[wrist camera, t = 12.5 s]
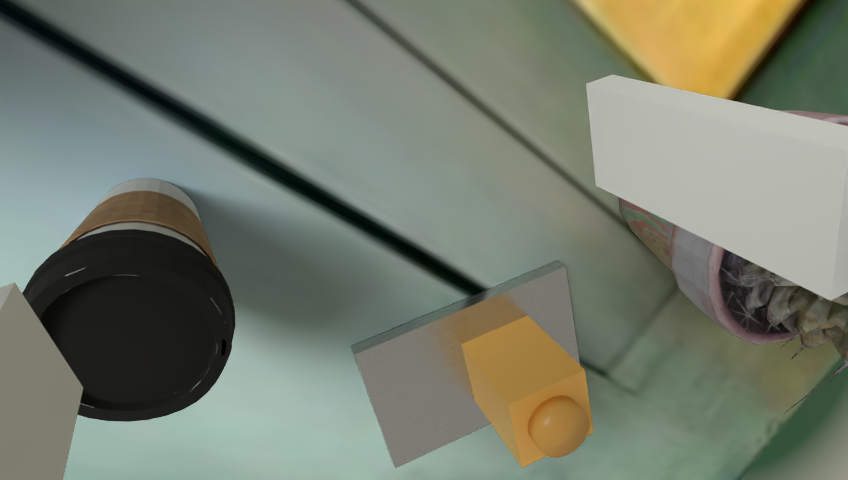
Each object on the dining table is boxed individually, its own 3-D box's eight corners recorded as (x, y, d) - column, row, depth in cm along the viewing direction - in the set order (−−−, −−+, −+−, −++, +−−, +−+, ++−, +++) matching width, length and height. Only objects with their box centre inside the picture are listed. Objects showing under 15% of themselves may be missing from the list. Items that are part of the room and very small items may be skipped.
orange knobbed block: (475, 401, 50) (532, 482, 41) (461, 344, 47) (519, 419, 39) (538, 372, 51) (606, 445, 43) (527, 315, 48) (597, 382, 40)
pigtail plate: (391, 458, 50) (415, 514, 45) (350, 346, 45) (372, 394, 40) (574, 373, 54) (617, 415, 49) (557, 260, 49) (603, 293, 43)
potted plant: (775, 217, 56) (1147, 359, 34) (600, 315, 53) (888, 540, 31) (762, 26, 47) (1245, 54, 26) (553, 129, 44) (904, 260, 23)
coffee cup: (218, 286, 40) (232, 429, 27) (71, 286, 37) (7, 448, 24) (225, 163, 37) (245, 255, 24) (68, 151, 34) (-7, 250, 21)
